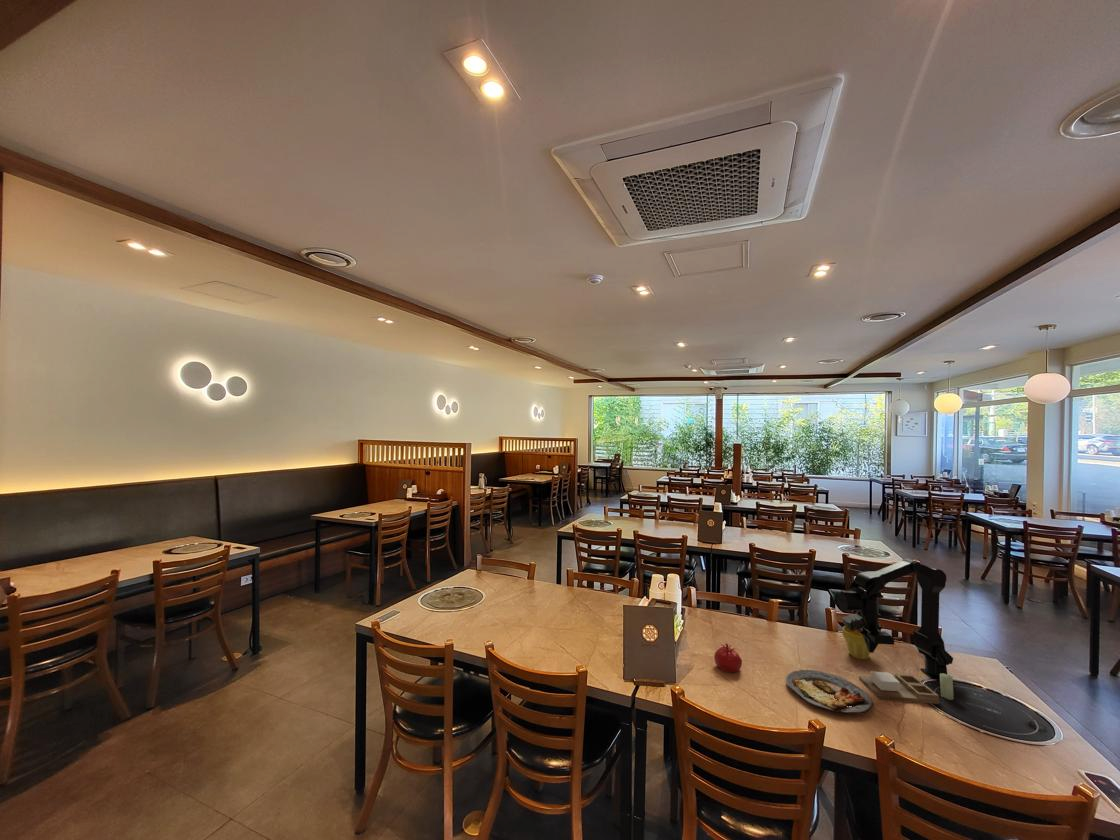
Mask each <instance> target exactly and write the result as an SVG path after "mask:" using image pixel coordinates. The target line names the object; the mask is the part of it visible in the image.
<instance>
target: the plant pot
mask: <svg viewBox="0 0 1120 840" xmlns="http://www.w3.org/2000/svg"><path fill="white" fill-rule="evenodd" d="M842 636H843V638H844V640H845V642H846V646H847V651H848V654H849V655H851V656H852V657H854V658H856V659H860V660H866V659H868V660H869V658H870V655H871V653H870V652H869V651H868V648H867V645H866V643H865V640H864V637H863V635H862V634H861V633H860V632H859V631H858V630H856V629H855V630H854V631H851V630H849V629H848V628H847V627H846V626H845V625H844V626H842Z"/></svg>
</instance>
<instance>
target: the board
mask: <svg viewBox="0 0 1120 840" xmlns="http://www.w3.org/2000/svg"><path fill="white" fill-rule="evenodd" d="M894 676H895V677H894V678H895V679H897V680H898V681H899V682H900V691H887V690H881V689H880V688H878V687H877V686H876V685H875V684H874V683H873V682H872V681H871V676H867V675H858V677H859V681H860V682H861V683H862V684H863V685H864V686H865V687H866V688H867V689H868V690H869V691H870V692H872V694H873V695H874V696H875V697H876V698H877V699H878V700H881V701H882V700H883V701H894V702H895V701H897V702H907V703H908V702H909V703H910V702H911V703H920V704H921V703H922V704H923V703H924V704H933V705H939V704H940V699H939V698H940V696H939V694H937V693H936V692H935V691H934V690H932V689H931V688H930V687H928V685H926V684H925V683H924V682H922V681H921V680H920V679H919V678H917V677H916V675H913V674H912V675H911V674H899V673H894Z"/></svg>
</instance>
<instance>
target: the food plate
mask: <svg viewBox="0 0 1120 840" xmlns="http://www.w3.org/2000/svg"><path fill="white" fill-rule="evenodd" d="M809 682H812V683H813V684H811V683H809ZM785 683H786V685H787V686H788V687H789V688H790V689H792V690H793V692H794V693H796V694H797V695H799V696H800V697H801V698H802V699H804V700H805V701H806V702H808V703H809V704H811V705H812V706H814V707H818V708H820V709H824V710H828V711H831V712H833V713H841V714H859V713H861V714H864V713H868V712H869V711H870V710H871V708H872V707H874V701H873V698H871V697H870V694H868V693H867V692H866V691H865V690H863V689H862V688H861V687H859V686H857V685H856V684H854V683H853V682H851V681H849V680H848V679H847V678H845V677H841V676H840V675H836V674H834V673H828V672H825V671H821V670H814V669H800V670H793V671H791V672H790V673H788V674H787V675H786V676H785ZM829 684H830V685H829ZM831 685H832V686H833V687H832V686H831ZM837 688H839V689H837ZM822 690H823V692H822ZM825 693H827V694H829V695H830V694H831V695H833V696H834V698H835V699H837V700H834V699H833V698H831V697H830V696H828V695H826V694H825ZM847 706H848V707H847ZM849 706H852V707H849Z"/></svg>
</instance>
